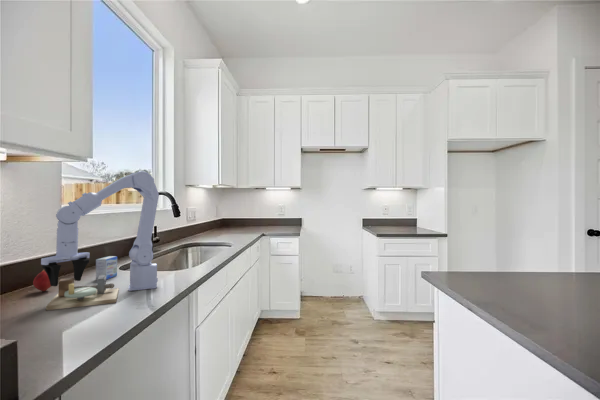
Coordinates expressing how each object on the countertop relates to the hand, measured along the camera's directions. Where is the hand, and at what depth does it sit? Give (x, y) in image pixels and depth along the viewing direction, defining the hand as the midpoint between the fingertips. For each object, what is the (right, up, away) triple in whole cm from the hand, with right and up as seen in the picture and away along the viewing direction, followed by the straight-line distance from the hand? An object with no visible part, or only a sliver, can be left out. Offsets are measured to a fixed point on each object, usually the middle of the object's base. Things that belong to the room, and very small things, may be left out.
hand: (66, 283), depth 104 cm
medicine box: (-5, -6, +30) cm, 31 cm away
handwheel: (+8, -4, -4) cm, 9 cm away
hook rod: (+5, -4, +3) cm, 7 cm away
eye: (+9, -4, +5) cm, 11 cm away
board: (+7, -6, 0) cm, 9 cm away
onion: (-14, -6, +8) cm, 18 cm away
